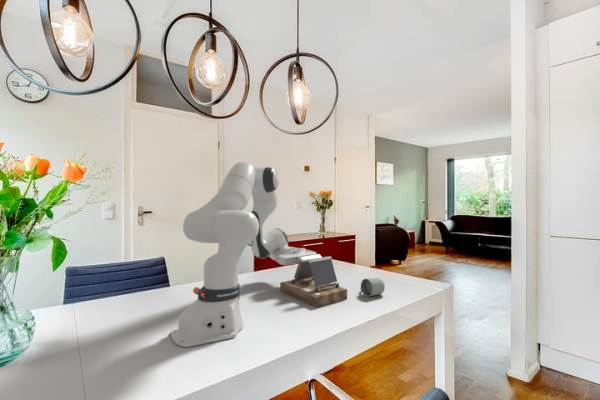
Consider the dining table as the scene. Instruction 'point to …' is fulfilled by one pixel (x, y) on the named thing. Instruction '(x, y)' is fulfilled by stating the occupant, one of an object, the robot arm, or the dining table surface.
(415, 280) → the dining table surface
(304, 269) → the grey board
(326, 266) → the lever slate
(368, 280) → the ceramic mug
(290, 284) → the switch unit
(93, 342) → the dining table surface
